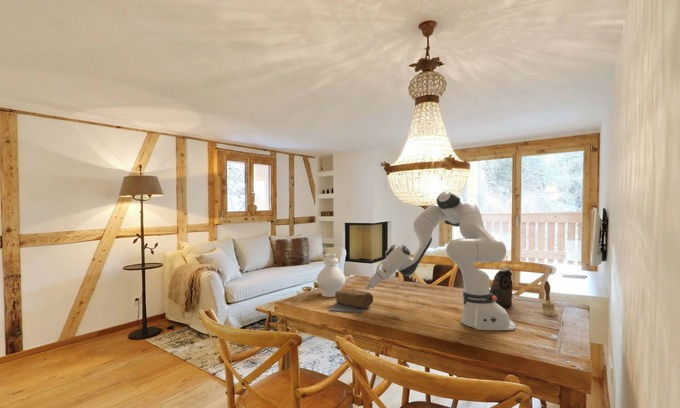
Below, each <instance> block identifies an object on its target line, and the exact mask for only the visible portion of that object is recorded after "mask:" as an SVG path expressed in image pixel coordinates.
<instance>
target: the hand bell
mask: <svg viewBox="0 0 680 408" xmlns="http://www.w3.org/2000/svg"><path fill="white" fill-rule="evenodd" d="M543 289H544V292H545V301H542V306H541V309H539V311H538V313H539V315H543V316H547V317H557V316H559V313H558V312H557V311H556V309H555V305H554V303H553V302H552V301H551V296H550V292H551V284H550V283H549V280H545V282H544V286H543Z"/></svg>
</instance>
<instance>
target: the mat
mask: <svg viewBox="0 0 680 408" xmlns="http://www.w3.org/2000/svg"><path fill="white" fill-rule="evenodd" d="M366 309H367V307H366V308H357V307H351V306H346V305H342V304H340V303H337V302H335V304H334V305H332V306H331V307H330V308H329V309H328V311H329V312H335V313H336V312H337V313H352V314H354V313H356V314H363V313H364V312H365V310H366Z"/></svg>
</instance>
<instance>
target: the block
mask: <svg viewBox="0 0 680 408" xmlns="http://www.w3.org/2000/svg"><path fill="white" fill-rule="evenodd" d="M335 299H336V300H335V303H340V304H342V305H346V306H351V307H357V308H366V309H367V308H368V307H369V306H371V305H372V304H373V302H374V296H373V294H372V293H370V292H368V291H364V290H357V289H340V290H339V291H337V292H336V293H335Z"/></svg>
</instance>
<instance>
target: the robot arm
mask: <svg viewBox="0 0 680 408" xmlns="http://www.w3.org/2000/svg"><path fill="white" fill-rule="evenodd" d="M433 206H434V207H433ZM481 214H482V213H481V211H480V209H479V207H478V206H477V204H476V203H474V202H472V201H471V202H470V201H465V202H462V201H461V198H460V197H459V196H458V195H456V194H455V193H454V192H452V191H448V190H447V191H443V192H441V193H440V194H439V195H438V196H437V197H436V203H432V204H430V205H428V207H426V208H425V209H424V210H422V211H421V213H419V214H418V216H417V217H416V218H415V220H414V221H413V230H414V232H415V235H416V237H417V238H418V241H419V246H418V249H417V250H416V251H415V253H414V255H413V257H411V252H410V250H409V249H408V247H407V246H405V245H404V244H398V245H397V244H392V245H391V246H390V247H389V248H387V250H386V251H384V255H385V258H384V259H383V260H382V261H380V263H379V264H377V266H376V270H375V272H374V274H373V275H372V277H371V278H370V279H369V281H368V282H367V285H366V286H365V289H366V290H367V291H368V290H369V289H374V288H375V287H377V286H378V285H379V284H380V283H382V282H383V281H386V280H388V279H390V278H391V277H392V276H393V275H394V274H395V273H396V272H397V271H398V272H399V273H400V274H401V275H402V276H405V277H411V275H414V273H415V272H416V270H417V268H418V266H419V264H420V263H421V260H422V259H423V257H424V256H425V254H426V252H427V251H428V250H429V249H428V248H429V247H430V245H431V244H432V242H433V236H432V234H433V232H434V230H435V228H436V227H437V226H438V225H439V224H440V223H441V222H444V224H446V225H451V226H452V227H458V228H459V232H460V235H461V236H462V238H455V239H452V240H449V242H448V243H447V246H446V254H447V257H448V258H449V259H450V260H451V261H452V262H453V263H455V264H456V265H457V266H458V268H459V270H460V272H461V275H462V279H463V291H462V303H463V310H462V311H463V312H462V314H461V315H462V316H461V320H460V322H461V324H463V325H464V326H467V327H471V328H473V329H475V330H478V331H514V330H515V329H516V325H515V322H514V321H512V320H511V319H510V316H509V314H508V312H507V310H506V309H504V308H502V307H501V306H500V305H499V304H497V303H496V302H495V301H496V300H497V298H496V296H494V295H493V294H492V293H490V289H491V285H490V277H489V275H488V274H487V273H486V272H485V271H483V270H482V269H479V268H477V267H476V266H475V264H476V263H484V264H486V263H487V264H489V263H498V262H502V261H503V260H504V259H505V257H506V255H507V247H506V244H505V243H504V242H503V241H502V240H501V239H499V238H496V237H494V236H493V235H492V234H490V233H489V232H488V231H487V230H486V228H485V225H484V222H483V218H482V215H481Z"/></svg>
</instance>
